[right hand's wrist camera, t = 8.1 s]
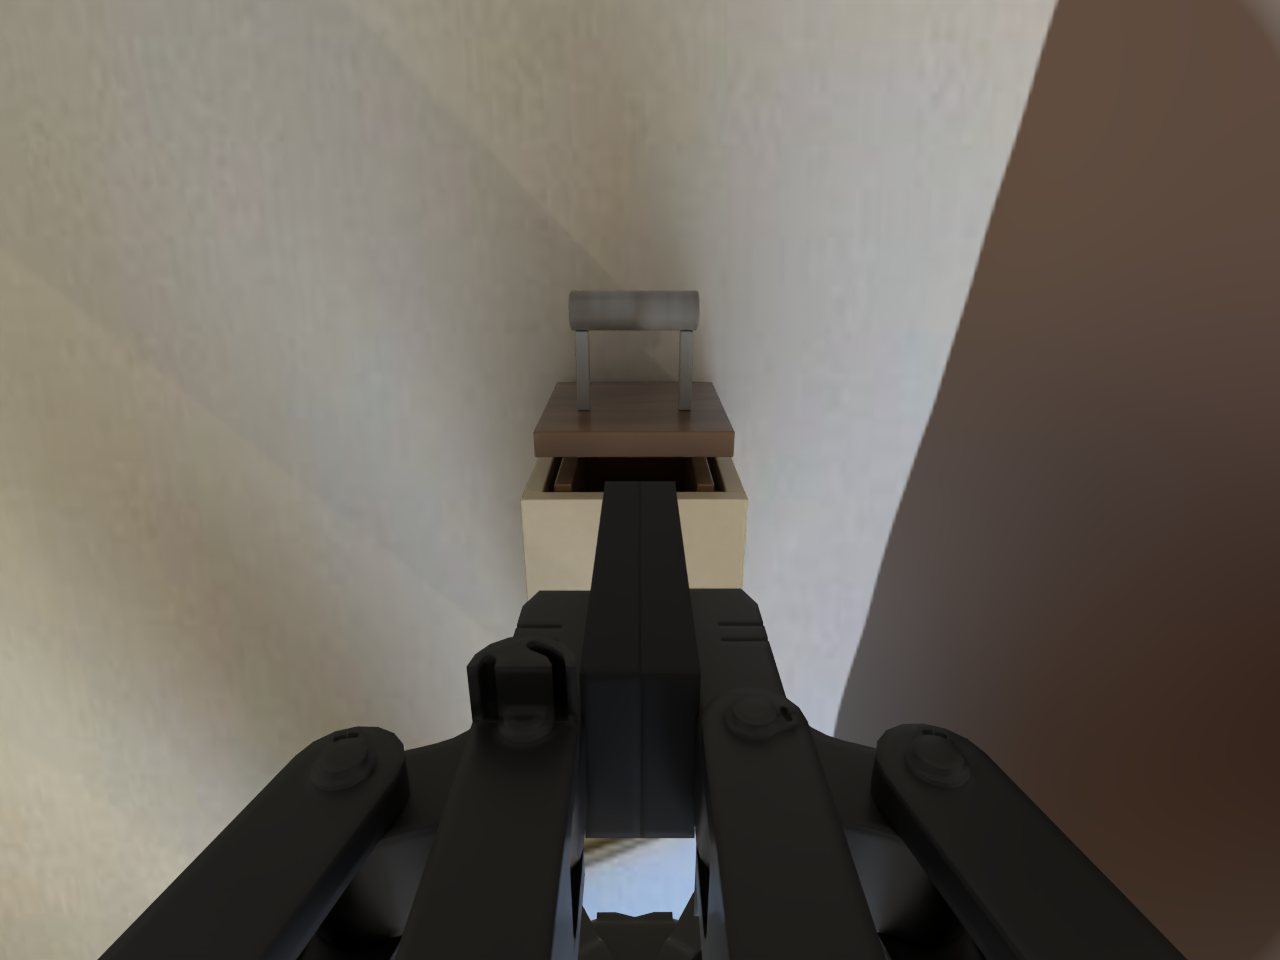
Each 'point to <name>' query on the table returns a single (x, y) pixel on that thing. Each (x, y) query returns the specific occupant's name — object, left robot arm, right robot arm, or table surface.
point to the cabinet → (570, 525)
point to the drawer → (634, 404)
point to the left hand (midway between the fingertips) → (635, 715)
